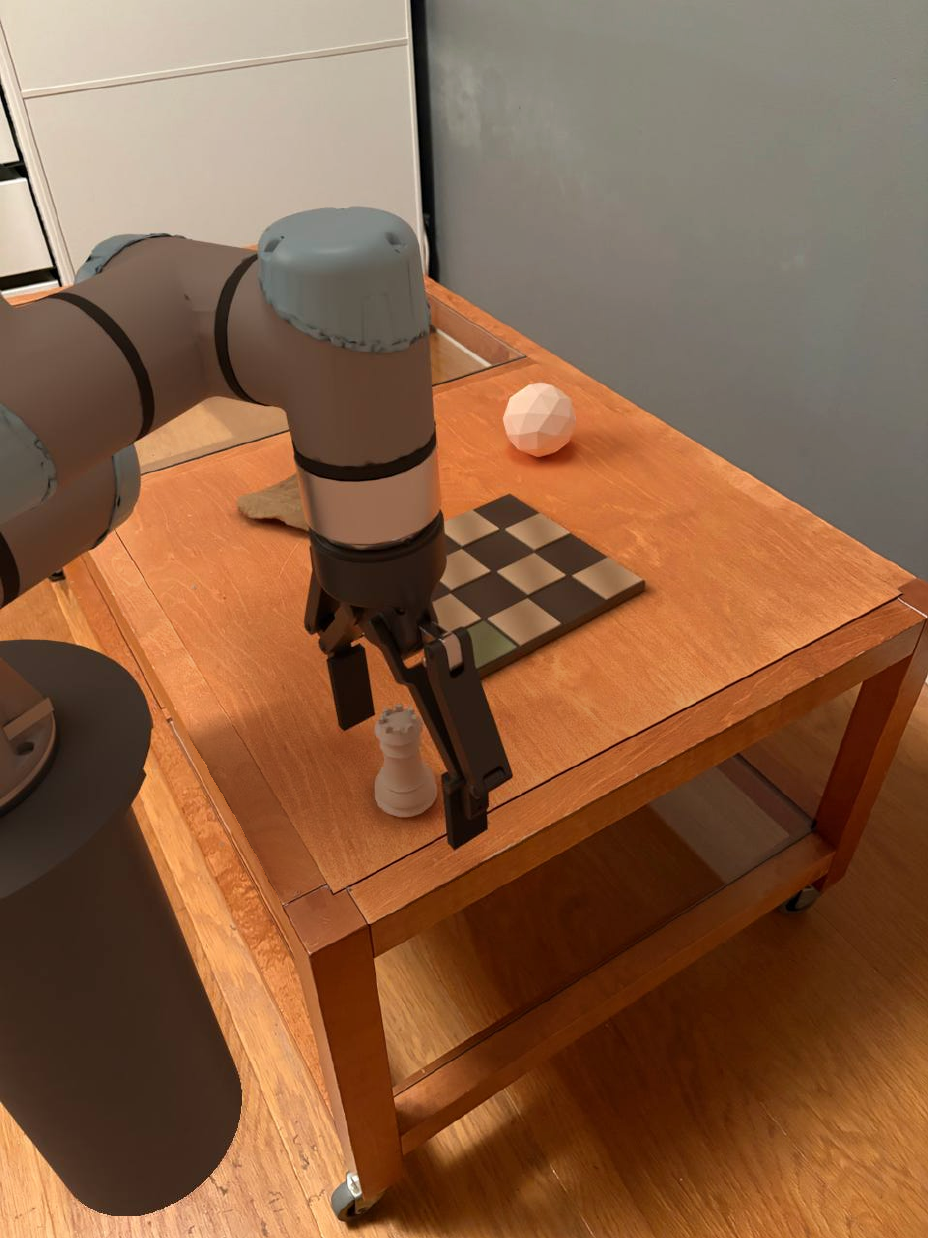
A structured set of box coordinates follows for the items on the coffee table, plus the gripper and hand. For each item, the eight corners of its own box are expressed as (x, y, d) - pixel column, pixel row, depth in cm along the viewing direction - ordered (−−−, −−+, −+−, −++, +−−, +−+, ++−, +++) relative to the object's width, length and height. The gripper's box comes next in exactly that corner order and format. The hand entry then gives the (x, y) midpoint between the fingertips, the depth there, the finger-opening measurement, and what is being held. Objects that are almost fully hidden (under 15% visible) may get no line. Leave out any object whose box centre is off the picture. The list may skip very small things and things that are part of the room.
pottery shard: (327, 551, 93) (372, 482, 98) (313, 520, 90) (360, 450, 95) (239, 533, 97) (287, 467, 103) (222, 502, 94) (273, 436, 99)
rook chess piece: (395, 832, 65) (384, 752, 60) (363, 790, 68) (351, 711, 63) (450, 802, 67) (444, 722, 61) (417, 763, 70) (409, 684, 64)
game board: (473, 683, 76) (473, 672, 75) (349, 572, 88) (347, 562, 87) (645, 590, 84) (646, 579, 84) (509, 501, 97) (509, 491, 96)
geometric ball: (531, 463, 108) (534, 392, 107) (588, 459, 102) (592, 385, 102) (486, 454, 102) (490, 379, 102) (545, 450, 97) (549, 371, 96)
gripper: (579, 592, 46) (570, 862, 59) (320, 415, 62) (359, 659, 75) (454, 658, 42) (474, 929, 56) (215, 453, 58) (275, 701, 72)
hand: (408, 774), depth 65 cm, fingers open, 13 cm apart
